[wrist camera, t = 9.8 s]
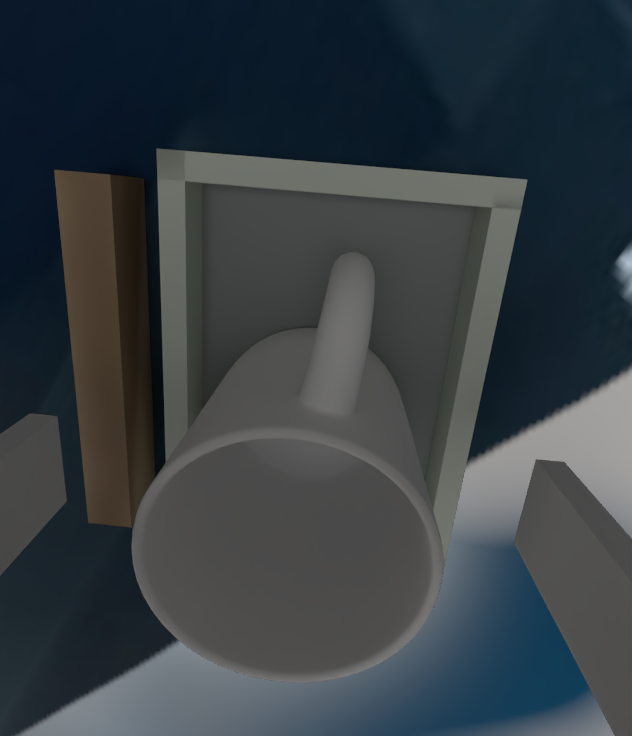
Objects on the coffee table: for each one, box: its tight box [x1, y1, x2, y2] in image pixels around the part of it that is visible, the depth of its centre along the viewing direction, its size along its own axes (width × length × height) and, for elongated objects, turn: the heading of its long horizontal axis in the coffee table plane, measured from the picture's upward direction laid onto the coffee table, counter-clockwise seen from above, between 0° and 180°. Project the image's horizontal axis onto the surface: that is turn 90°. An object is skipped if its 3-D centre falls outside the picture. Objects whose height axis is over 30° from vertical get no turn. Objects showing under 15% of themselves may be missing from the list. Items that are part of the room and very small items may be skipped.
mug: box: [131, 252, 444, 682], centre depth 17 cm, size 12×8×10 cm
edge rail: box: [54, 170, 155, 527], centre depth 21 cm, size 2×15×3 cm, turn 175°
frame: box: [157, 149, 527, 570], centre depth 21 cm, size 13×17×2 cm
